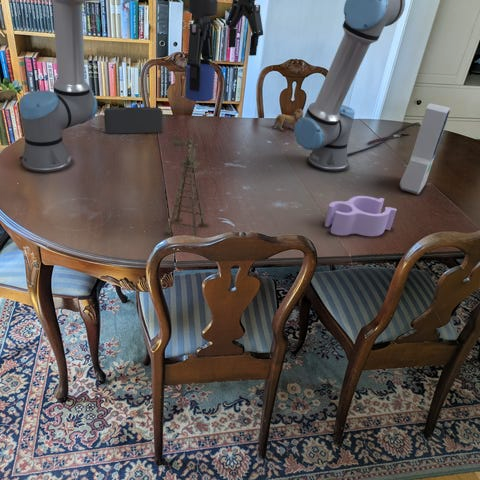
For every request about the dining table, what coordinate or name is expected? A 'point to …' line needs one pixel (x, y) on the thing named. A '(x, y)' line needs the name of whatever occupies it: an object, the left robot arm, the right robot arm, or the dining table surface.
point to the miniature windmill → (187, 165)
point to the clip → (359, 216)
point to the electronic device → (425, 148)
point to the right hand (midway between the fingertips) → (241, 51)
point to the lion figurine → (289, 119)
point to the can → (201, 84)
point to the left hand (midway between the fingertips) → (199, 86)
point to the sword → (385, 138)
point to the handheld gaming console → (133, 120)
